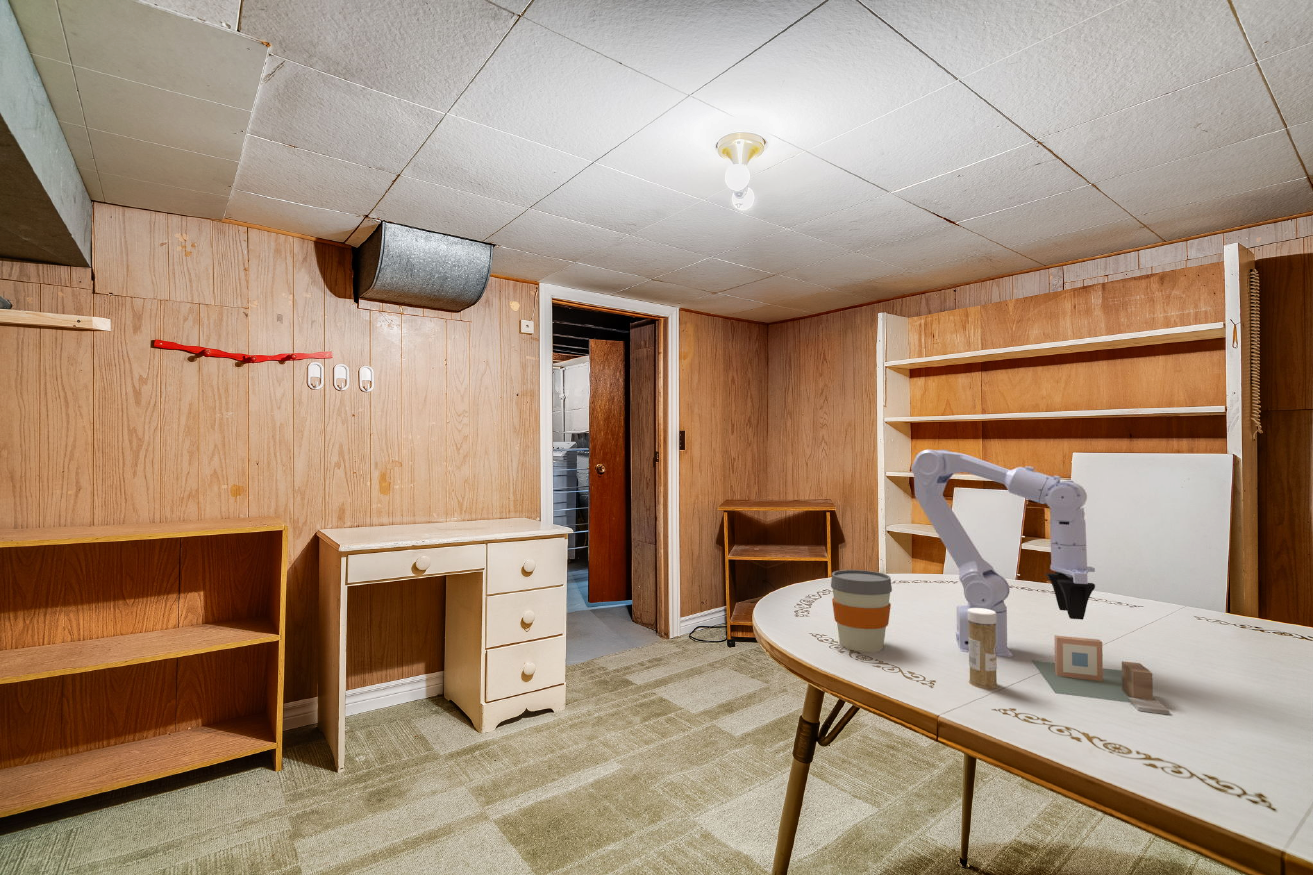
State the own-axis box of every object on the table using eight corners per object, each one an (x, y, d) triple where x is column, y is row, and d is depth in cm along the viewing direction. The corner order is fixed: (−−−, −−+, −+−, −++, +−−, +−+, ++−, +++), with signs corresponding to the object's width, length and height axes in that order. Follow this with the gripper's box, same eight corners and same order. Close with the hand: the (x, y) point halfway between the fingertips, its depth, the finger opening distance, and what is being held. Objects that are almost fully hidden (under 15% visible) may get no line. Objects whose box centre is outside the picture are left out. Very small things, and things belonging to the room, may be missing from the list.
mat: (1055, 695, 102) (1055, 692, 102) (1031, 662, 117) (1031, 660, 117) (1163, 708, 96) (1163, 706, 96) (1123, 672, 112) (1123, 670, 112)
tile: (1057, 676, 109) (1057, 638, 109) (1054, 672, 111) (1054, 635, 111) (1103, 681, 107) (1102, 642, 107) (1099, 678, 108) (1099, 639, 108)
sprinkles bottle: (1000, 692, 103) (999, 614, 103) (971, 689, 104) (970, 612, 104) (994, 682, 107) (993, 607, 107) (966, 679, 108) (965, 605, 109)
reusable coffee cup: (892, 658, 120) (891, 583, 120) (828, 650, 124) (827, 578, 125) (892, 640, 131) (891, 572, 132) (833, 633, 136) (833, 567, 136)
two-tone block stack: (1117, 689, 103) (1116, 660, 103) (1145, 692, 102) (1144, 663, 102) (1138, 710, 95) (1137, 679, 95) (1169, 714, 93) (1168, 682, 93)
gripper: (1106, 549, 107) (1109, 626, 106) (1080, 539, 120) (1083, 607, 120) (1060, 548, 109) (1063, 622, 109) (1040, 538, 123) (1042, 604, 122)
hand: (1070, 614), depth 114 cm, fingers open, 6 cm apart
